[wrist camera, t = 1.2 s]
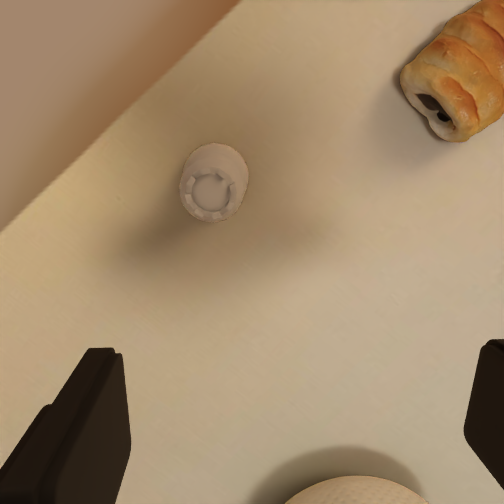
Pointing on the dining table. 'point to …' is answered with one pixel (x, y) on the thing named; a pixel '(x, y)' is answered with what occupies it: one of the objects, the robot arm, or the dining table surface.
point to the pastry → (461, 74)
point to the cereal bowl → (356, 492)
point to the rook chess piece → (213, 182)
